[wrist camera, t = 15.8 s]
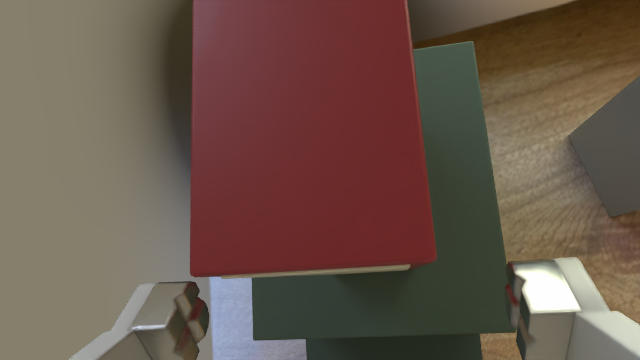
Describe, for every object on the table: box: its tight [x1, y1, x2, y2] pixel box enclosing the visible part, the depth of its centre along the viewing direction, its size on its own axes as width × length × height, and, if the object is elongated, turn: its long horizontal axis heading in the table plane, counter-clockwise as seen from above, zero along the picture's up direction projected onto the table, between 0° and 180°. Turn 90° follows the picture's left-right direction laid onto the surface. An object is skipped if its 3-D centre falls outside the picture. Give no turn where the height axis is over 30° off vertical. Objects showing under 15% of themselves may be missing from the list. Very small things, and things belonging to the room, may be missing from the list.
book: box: [190, 0, 437, 279], centre depth 14 cm, size 4×8×14 cm, turn 3°
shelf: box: [252, 41, 516, 360], centre depth 26 cm, size 12×25×14 cm, turn 3°
